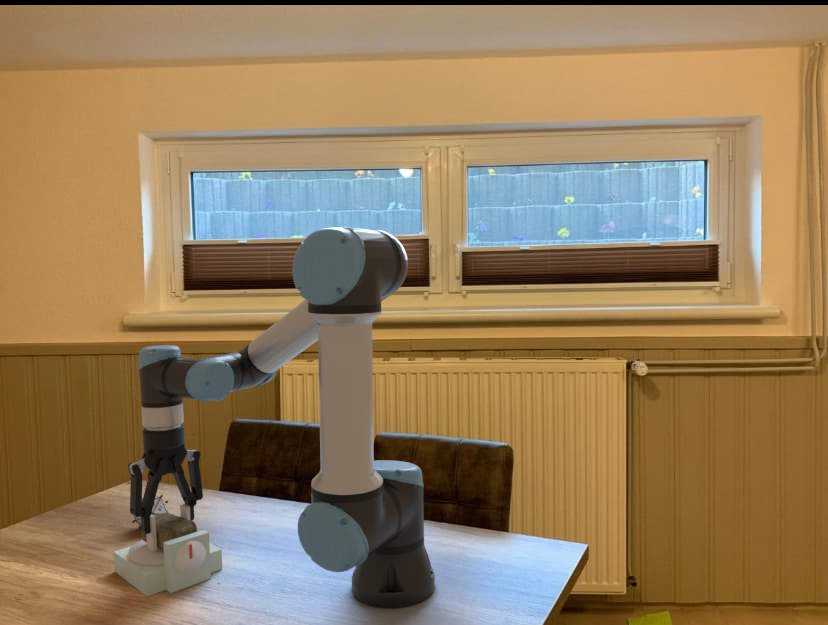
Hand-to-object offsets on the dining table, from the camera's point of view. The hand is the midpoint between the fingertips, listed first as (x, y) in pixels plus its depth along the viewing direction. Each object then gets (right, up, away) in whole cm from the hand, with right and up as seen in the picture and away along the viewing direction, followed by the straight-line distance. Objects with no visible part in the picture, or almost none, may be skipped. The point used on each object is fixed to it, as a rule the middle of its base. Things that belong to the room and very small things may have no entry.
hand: (169, 542), depth 132 cm
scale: (0, -6, 0) cm, 6 cm away
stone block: (0, -1, 0) cm, 1 cm away
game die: (-13, -5, +23) cm, 27 cm away
